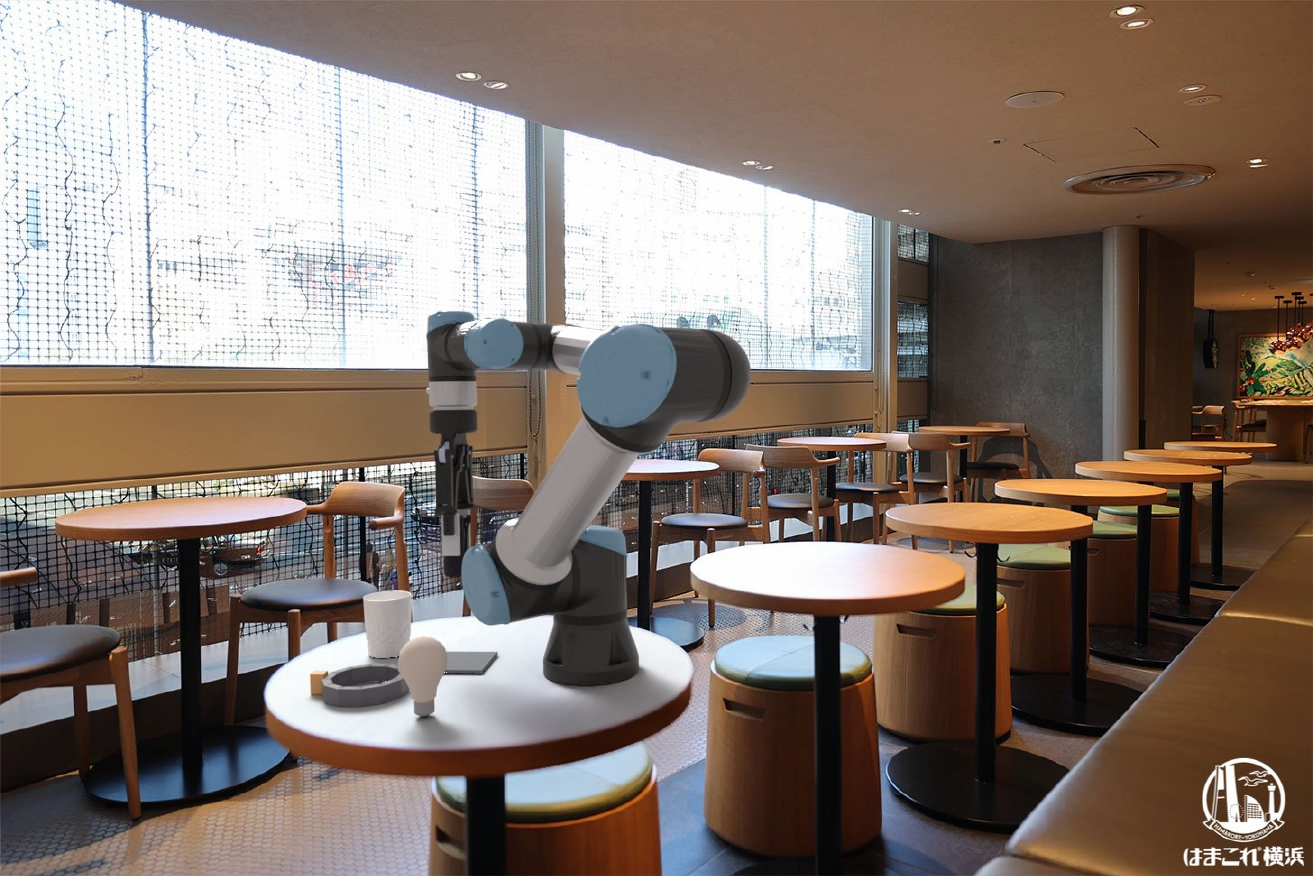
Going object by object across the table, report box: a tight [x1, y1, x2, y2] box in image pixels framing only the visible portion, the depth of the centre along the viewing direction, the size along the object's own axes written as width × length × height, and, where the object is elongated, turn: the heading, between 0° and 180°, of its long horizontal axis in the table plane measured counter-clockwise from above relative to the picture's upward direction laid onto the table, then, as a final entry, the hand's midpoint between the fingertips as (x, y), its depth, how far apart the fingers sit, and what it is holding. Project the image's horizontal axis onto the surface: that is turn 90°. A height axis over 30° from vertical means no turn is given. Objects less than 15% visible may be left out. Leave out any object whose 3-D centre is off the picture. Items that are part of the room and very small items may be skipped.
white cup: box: [362, 589, 413, 659], centre depth 149 cm, size 8×8×10 cm
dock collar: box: [309, 663, 410, 708], centre depth 129 cm, size 14×12×3 cm
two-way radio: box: [442, 514, 472, 579], centre depth 142 cm, size 6×4×15 cm
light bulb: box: [397, 635, 448, 718], centre depth 119 cm, size 7×7×11 cm
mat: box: [445, 651, 498, 675], centre depth 142 cm, size 10×10×1 cm
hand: (456, 551), depth 142 cm, fingers closed on two-way radio, 5 cm apart
